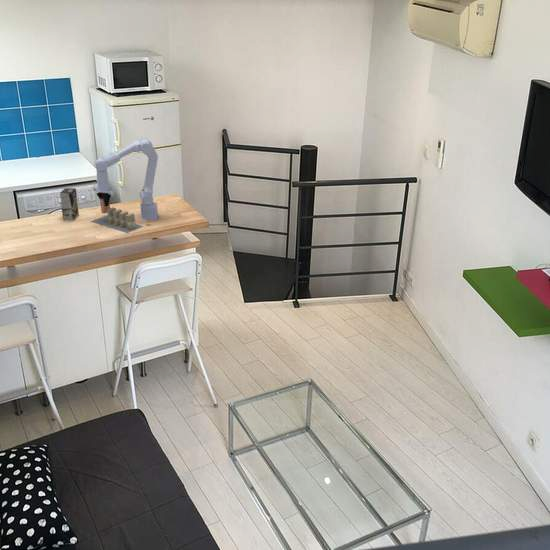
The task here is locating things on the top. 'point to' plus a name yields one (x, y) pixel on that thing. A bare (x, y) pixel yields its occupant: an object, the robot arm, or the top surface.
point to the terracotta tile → (103, 207)
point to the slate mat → (104, 222)
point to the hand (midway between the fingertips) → (105, 205)
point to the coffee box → (69, 204)
